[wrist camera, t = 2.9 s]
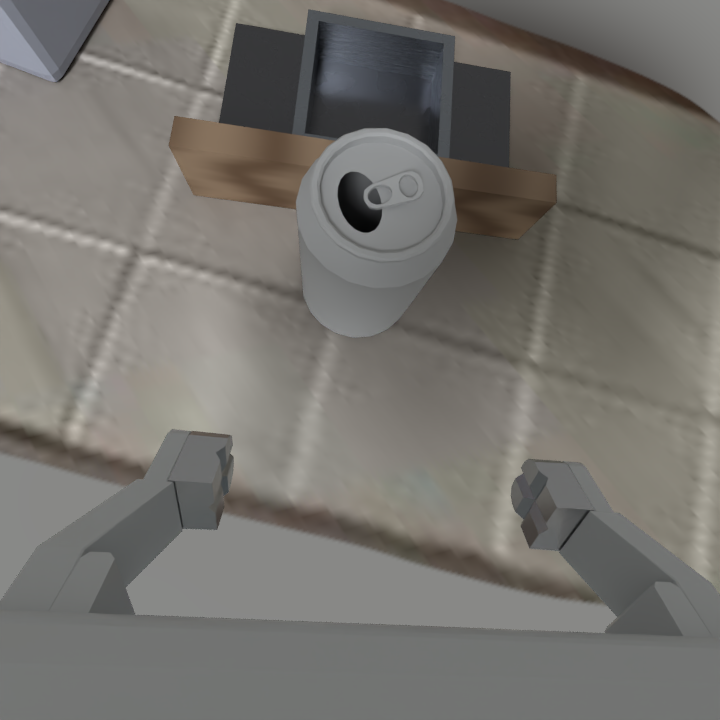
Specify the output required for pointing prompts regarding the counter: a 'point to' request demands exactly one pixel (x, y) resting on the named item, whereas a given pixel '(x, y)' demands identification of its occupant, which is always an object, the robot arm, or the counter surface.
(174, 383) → the counter surface
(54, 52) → the soap bottle
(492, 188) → the wooden plank
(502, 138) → the socket
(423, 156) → the can
